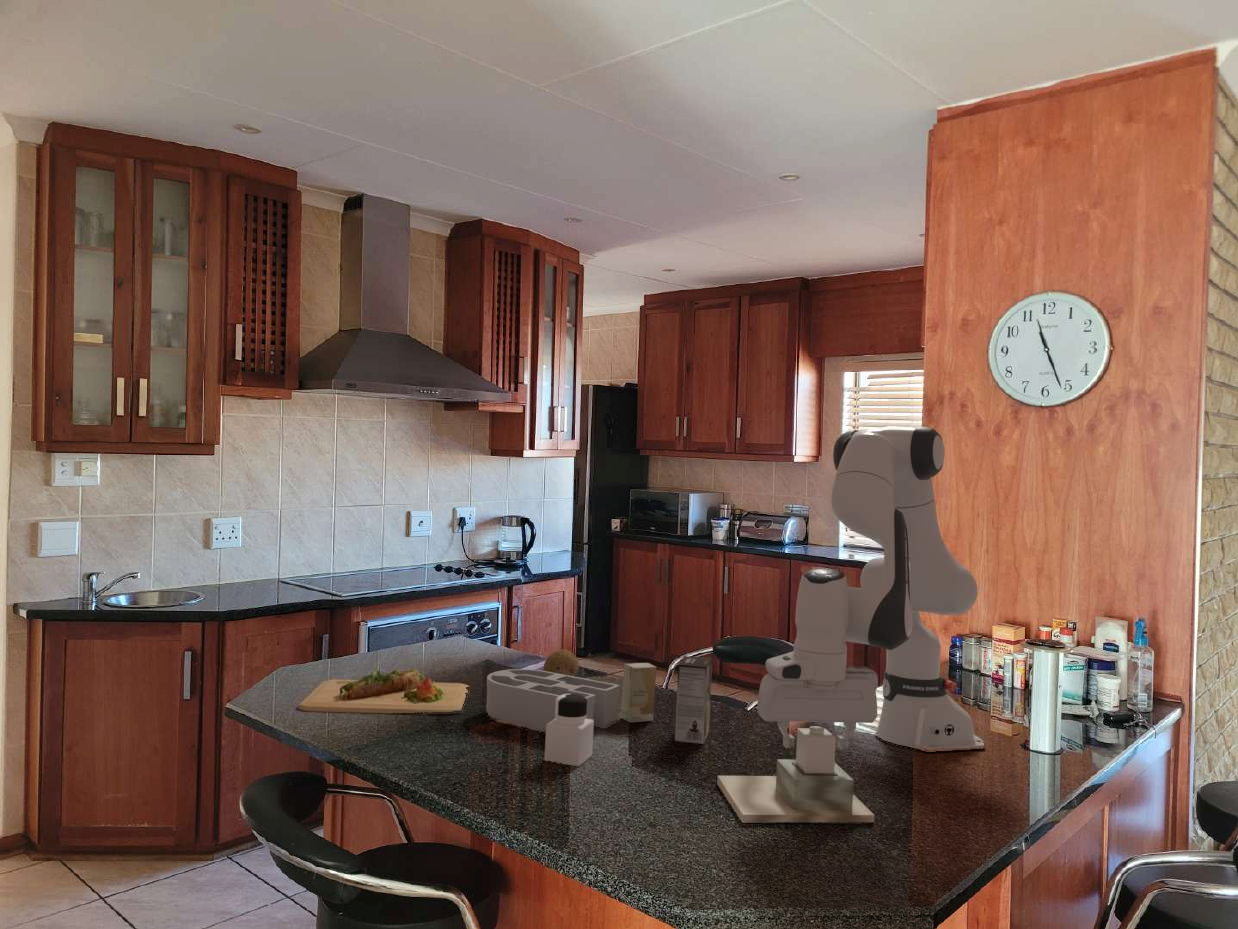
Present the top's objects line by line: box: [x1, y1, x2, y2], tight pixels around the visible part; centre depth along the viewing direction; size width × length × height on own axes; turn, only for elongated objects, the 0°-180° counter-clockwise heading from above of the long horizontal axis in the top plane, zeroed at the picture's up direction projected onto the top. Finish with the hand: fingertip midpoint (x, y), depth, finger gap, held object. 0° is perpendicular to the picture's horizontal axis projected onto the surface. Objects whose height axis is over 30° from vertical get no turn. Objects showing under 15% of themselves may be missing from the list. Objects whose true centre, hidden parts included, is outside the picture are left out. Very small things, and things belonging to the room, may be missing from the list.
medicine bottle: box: [544, 694, 595, 767], centre depth 172 cm, size 7×7×12 cm
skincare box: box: [620, 662, 657, 724], centre depth 201 cm, size 6×4×12 cm
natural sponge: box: [542, 649, 580, 677], centre depth 224 cm, size 9×9×10 cm
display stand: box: [716, 758, 875, 824], centre depth 155 cm, size 22×18×7 cm
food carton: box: [674, 655, 713, 745], centre depth 191 cm, size 9×6×16 cm
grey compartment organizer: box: [485, 668, 621, 732], centre depth 197 cm, size 17×28×9 cm, turn 61°
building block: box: [795, 725, 837, 773], centre depth 153 cm, size 5×5×7 cm
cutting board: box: [298, 668, 470, 714], centre depth 208 cm, size 35×23×8 cm
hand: (815, 747), depth 153 cm, fingers open, 8 cm apart
